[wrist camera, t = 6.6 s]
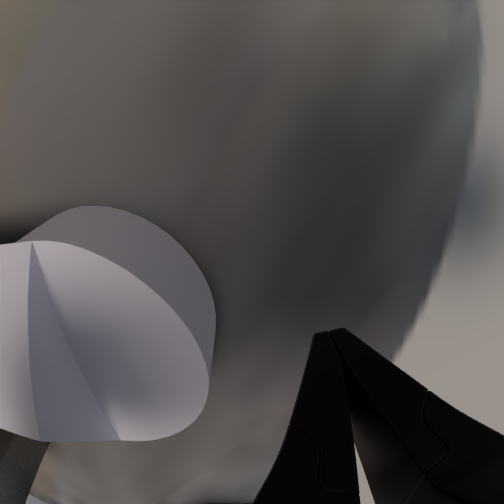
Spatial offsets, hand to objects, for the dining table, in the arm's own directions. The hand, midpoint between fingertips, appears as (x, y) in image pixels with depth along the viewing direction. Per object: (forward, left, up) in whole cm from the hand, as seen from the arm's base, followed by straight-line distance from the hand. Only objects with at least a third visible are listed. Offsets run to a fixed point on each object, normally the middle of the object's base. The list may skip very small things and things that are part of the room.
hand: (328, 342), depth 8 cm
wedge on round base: (0, +10, -4) cm, 11 cm away
